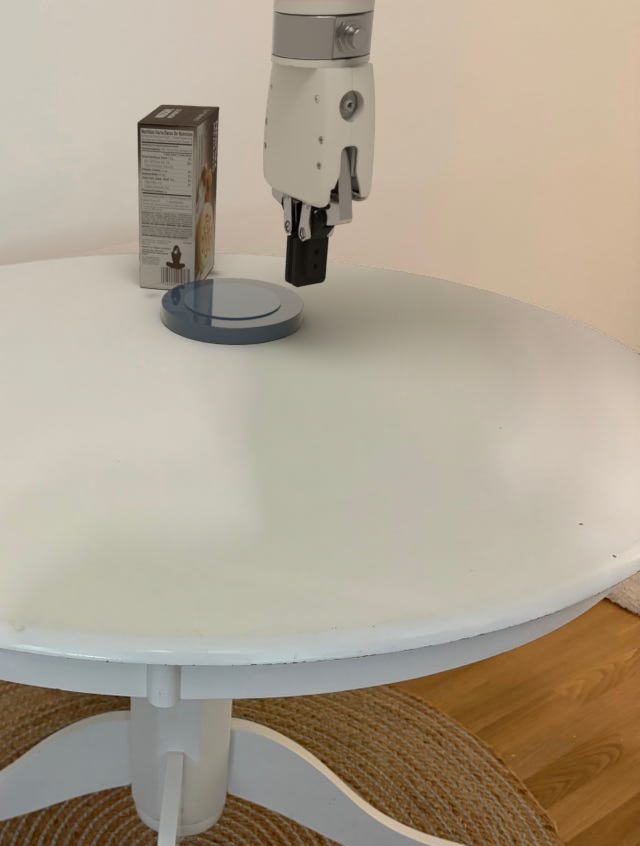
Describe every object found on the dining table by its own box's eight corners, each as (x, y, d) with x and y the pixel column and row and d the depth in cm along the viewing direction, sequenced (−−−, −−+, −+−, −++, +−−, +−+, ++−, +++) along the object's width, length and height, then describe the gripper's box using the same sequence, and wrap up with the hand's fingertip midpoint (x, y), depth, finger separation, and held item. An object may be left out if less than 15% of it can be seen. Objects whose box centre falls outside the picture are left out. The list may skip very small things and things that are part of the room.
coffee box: (160, 261, 112) (160, 102, 102) (215, 265, 110) (221, 105, 100) (137, 288, 105) (135, 120, 95) (196, 293, 104) (200, 124, 94)
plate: (327, 311, 100) (329, 294, 98) (255, 356, 91) (257, 337, 90) (210, 284, 106) (211, 267, 105) (133, 323, 97) (133, 305, 96)
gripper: (422, 46, 71) (390, 301, 82) (311, 25, 82) (296, 253, 93) (333, 55, 68) (314, 316, 80) (231, 32, 79) (226, 265, 91)
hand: (304, 281), depth 86 cm, fingers closed
